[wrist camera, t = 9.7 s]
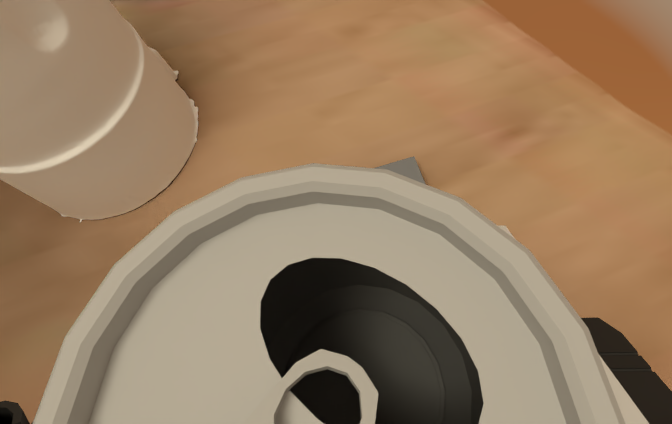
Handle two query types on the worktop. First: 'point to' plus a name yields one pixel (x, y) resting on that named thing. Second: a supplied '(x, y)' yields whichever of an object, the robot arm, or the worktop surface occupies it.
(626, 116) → the worktop surface
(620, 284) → the worktop surface
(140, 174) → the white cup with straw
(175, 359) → the can
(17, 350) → the worktop surface
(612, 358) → the robot arm
